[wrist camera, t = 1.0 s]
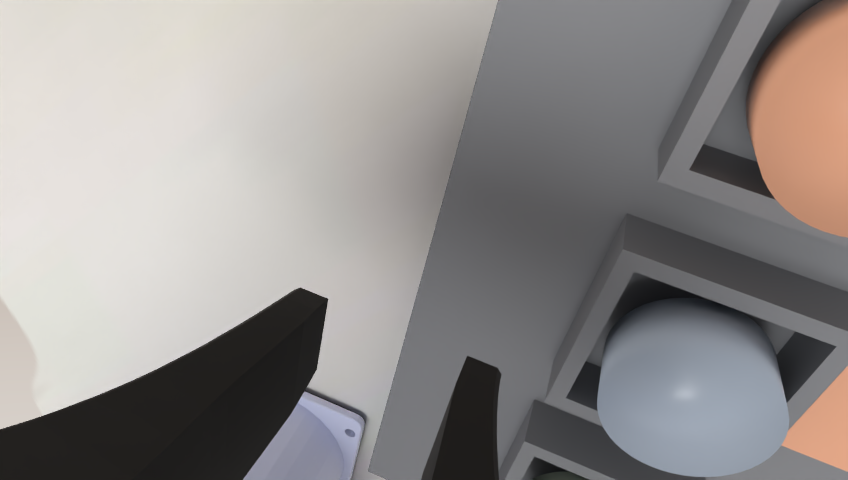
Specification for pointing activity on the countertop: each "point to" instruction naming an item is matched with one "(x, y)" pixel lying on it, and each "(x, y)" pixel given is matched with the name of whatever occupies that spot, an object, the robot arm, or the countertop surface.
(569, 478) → the button sage
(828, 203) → the button terracotta
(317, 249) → the countertop surface
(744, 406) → the button slate
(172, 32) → the countertop surface
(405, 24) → the countertop surface
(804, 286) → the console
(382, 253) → the countertop surface
